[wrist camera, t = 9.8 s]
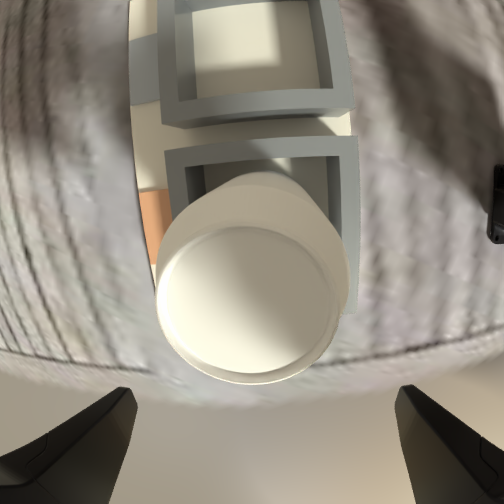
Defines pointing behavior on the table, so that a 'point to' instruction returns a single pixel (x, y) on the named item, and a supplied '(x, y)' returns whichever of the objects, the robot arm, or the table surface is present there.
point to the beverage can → (251, 280)
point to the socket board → (242, 107)
